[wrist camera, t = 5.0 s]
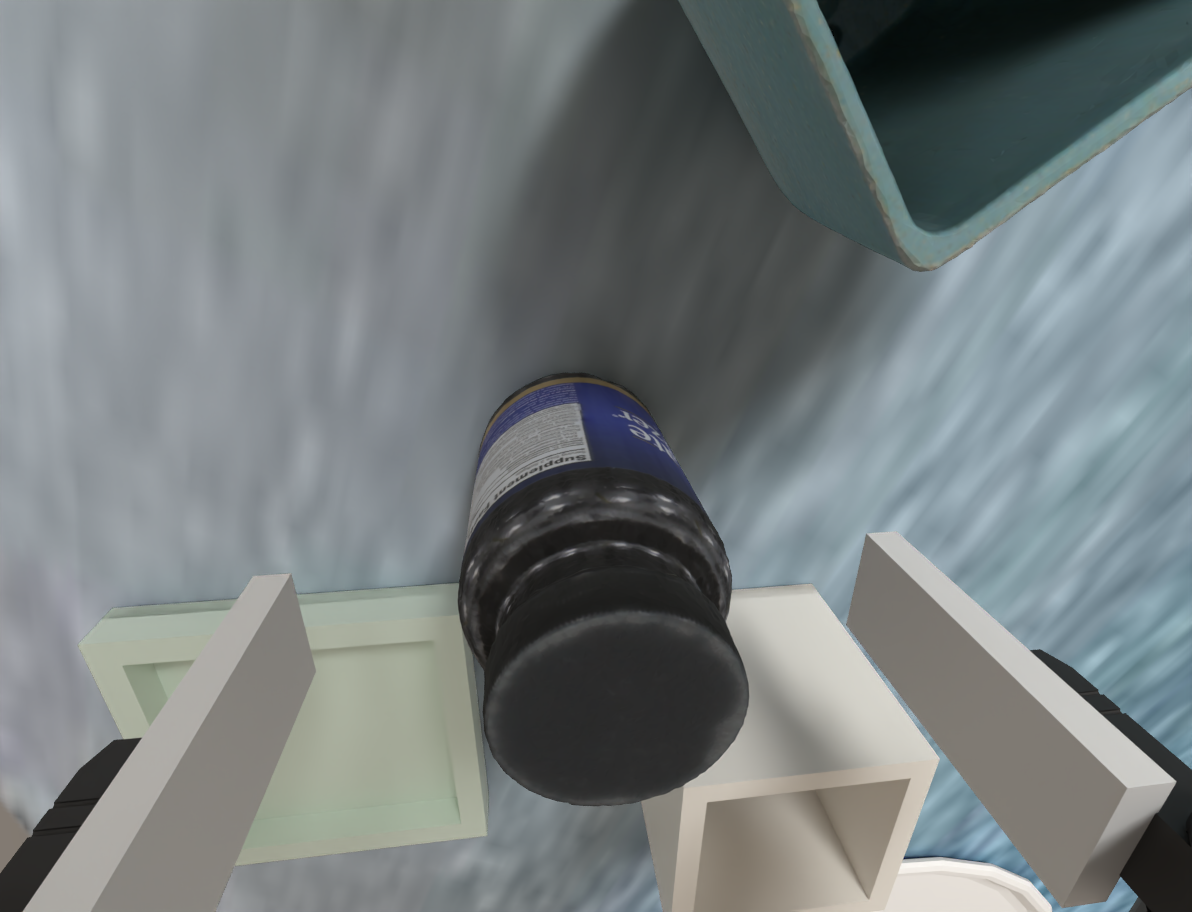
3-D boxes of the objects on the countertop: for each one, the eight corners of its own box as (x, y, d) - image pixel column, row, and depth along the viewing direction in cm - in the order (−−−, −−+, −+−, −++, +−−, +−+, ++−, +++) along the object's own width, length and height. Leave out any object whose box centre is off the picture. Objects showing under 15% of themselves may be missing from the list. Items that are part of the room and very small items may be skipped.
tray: (112, 607, 20) (77, 644, 19) (464, 582, 22) (460, 614, 20) (209, 827, 25) (188, 871, 24) (489, 796, 27) (487, 835, 25)
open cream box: (631, 597, 23) (683, 788, 16) (811, 583, 24) (939, 759, 17) (627, 731, 26) (668, 941, 19) (786, 714, 27) (884, 909, 20)
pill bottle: (687, 477, 21) (839, 743, 11) (541, 558, 22) (562, 877, 12) (603, 330, 18) (704, 508, 8) (440, 428, 19) (357, 696, 9)
